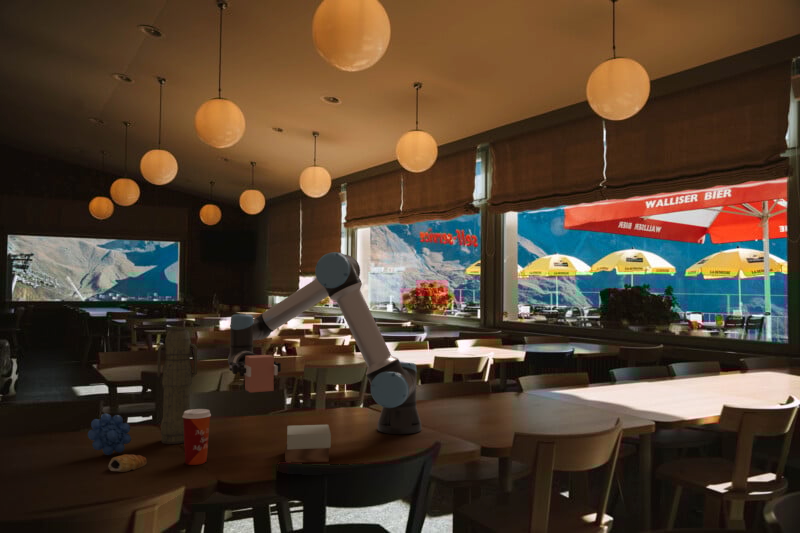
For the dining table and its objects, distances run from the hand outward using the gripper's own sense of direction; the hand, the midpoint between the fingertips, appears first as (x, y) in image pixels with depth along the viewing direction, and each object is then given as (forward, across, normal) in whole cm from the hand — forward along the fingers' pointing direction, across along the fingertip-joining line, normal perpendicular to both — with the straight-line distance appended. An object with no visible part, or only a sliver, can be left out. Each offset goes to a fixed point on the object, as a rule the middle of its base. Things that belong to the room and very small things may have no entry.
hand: (263, 371), depth 178 cm
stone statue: (-28, +21, -24) cm, 42 cm away
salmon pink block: (-5, 0, -6) cm, 8 cm away
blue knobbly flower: (-17, +40, -24) cm, 49 cm away
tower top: (+7, -12, -20) cm, 25 cm away
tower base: (+7, -11, -24) cm, 28 cm away
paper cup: (+1, +18, -24) cm, 30 cm away
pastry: (-1, +36, -24) cm, 43 cm away
